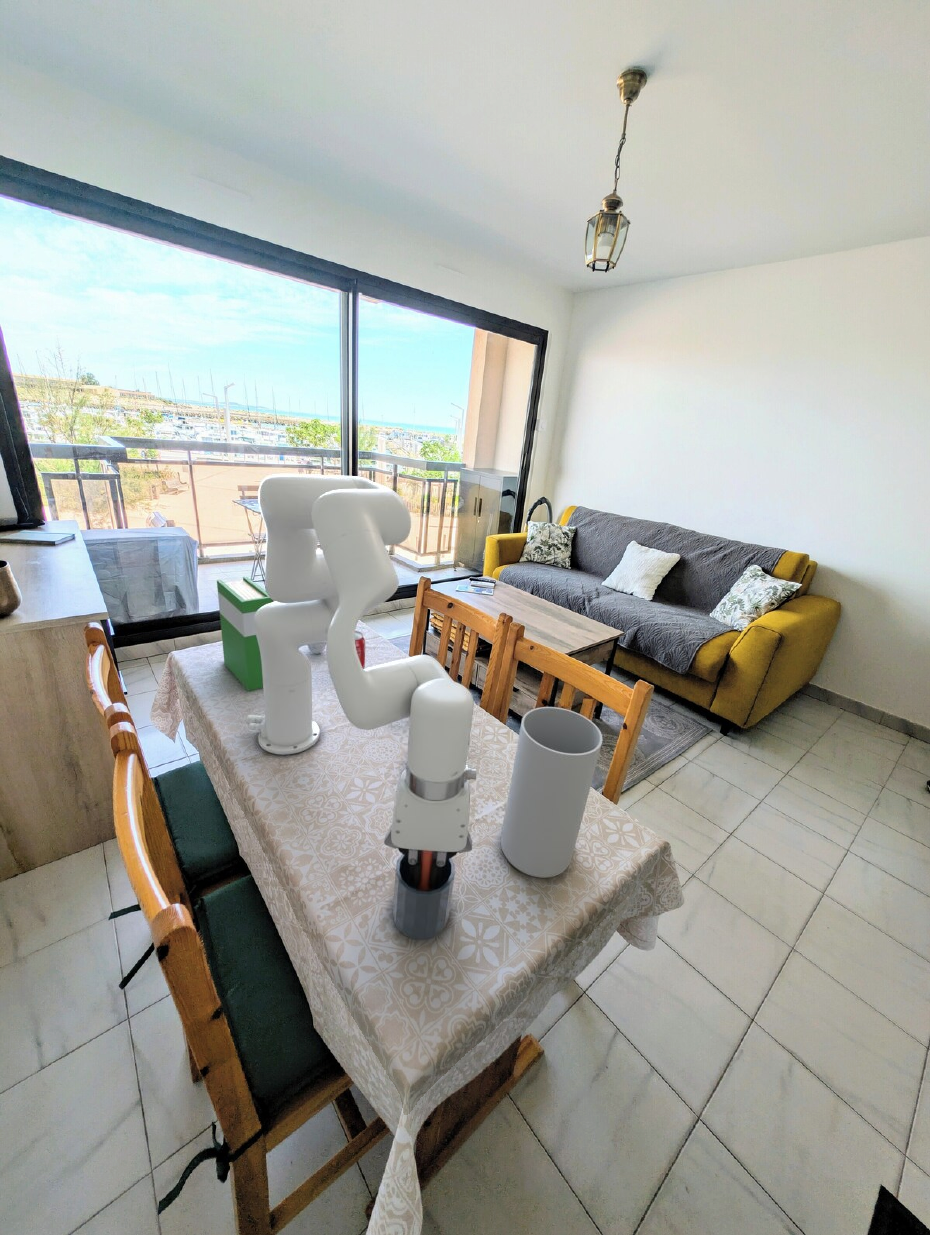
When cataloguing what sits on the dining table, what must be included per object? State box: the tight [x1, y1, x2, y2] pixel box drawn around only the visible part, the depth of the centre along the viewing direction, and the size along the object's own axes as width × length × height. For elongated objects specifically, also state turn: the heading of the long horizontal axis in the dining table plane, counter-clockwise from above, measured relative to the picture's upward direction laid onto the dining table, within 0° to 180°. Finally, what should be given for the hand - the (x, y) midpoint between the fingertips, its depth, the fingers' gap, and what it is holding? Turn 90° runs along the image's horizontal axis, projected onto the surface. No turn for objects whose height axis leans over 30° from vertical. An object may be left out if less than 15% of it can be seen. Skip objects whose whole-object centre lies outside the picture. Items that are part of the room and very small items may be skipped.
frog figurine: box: [306, 641, 327, 655], centre depth 140 cm, size 6×7×7 cm
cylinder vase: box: [500, 706, 603, 879], centre depth 78 cm, size 12×12×25 cm
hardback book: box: [216, 576, 275, 692], centre depth 122 cm, size 18×7×24 cm, turn 43°
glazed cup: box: [392, 853, 456, 941], centre depth 68 cm, size 8×8×9 cm
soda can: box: [355, 630, 366, 669], centre depth 129 cm, size 7×7×12 cm
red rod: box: [418, 850, 433, 892], centre depth 67 cm, size 2×2×12 cm
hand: (425, 877), depth 66 cm, fingers closed on red rod
